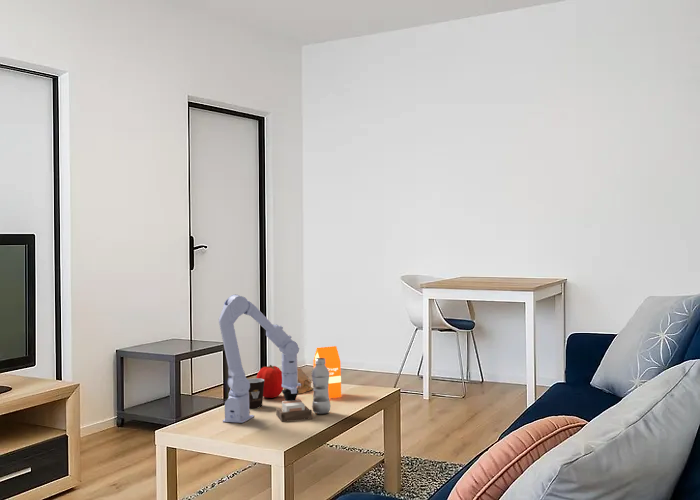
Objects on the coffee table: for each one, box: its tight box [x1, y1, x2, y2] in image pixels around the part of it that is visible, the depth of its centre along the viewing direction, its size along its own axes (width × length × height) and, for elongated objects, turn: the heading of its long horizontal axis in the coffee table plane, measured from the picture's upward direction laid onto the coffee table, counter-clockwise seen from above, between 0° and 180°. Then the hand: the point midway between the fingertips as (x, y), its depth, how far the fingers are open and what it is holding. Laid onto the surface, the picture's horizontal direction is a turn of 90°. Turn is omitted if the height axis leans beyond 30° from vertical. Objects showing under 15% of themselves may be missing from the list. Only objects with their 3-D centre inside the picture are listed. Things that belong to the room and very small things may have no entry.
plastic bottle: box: [310, 358, 331, 415], centre depth 262 cm, size 6×7×20 cm
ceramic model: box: [283, 366, 314, 395], centre depth 302 cm, size 14×11×10 cm
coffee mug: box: [247, 377, 264, 410], centre depth 275 cm, size 12×9×10 cm
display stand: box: [275, 405, 313, 422], centre depth 258 cm, size 10×11×3 cm
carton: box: [281, 399, 306, 412], centre depth 258 cm, size 8×6×5 cm
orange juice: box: [312, 345, 342, 399], centre depth 290 cm, size 8×9×20 cm
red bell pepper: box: [256, 364, 284, 399], centre depth 290 cm, size 12×12×13 cm
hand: (290, 409), depth 263 cm, fingers closed
